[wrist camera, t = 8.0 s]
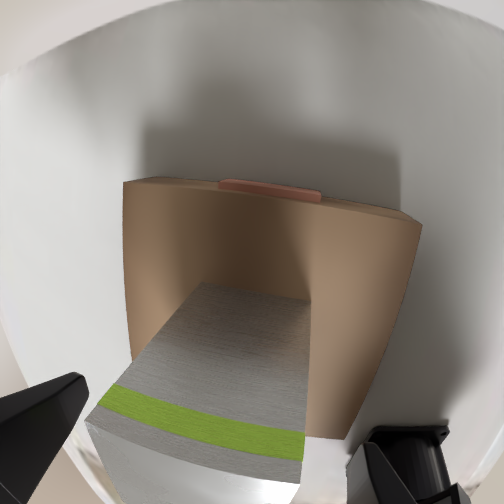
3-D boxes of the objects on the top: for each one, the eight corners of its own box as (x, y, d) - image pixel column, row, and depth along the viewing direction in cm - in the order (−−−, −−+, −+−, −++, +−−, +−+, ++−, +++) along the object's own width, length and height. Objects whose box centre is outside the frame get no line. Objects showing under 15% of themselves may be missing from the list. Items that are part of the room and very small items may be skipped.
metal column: (311, 301, 12) (300, 484, 4) (291, 385, 13) (265, 542, 6) (200, 281, 12) (83, 419, 5) (198, 365, 14) (122, 501, 6)
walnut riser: (402, 204, 13) (424, 216, 10) (342, 404, 17) (344, 439, 14) (156, 170, 15) (123, 175, 12) (158, 367, 18) (137, 395, 16)
